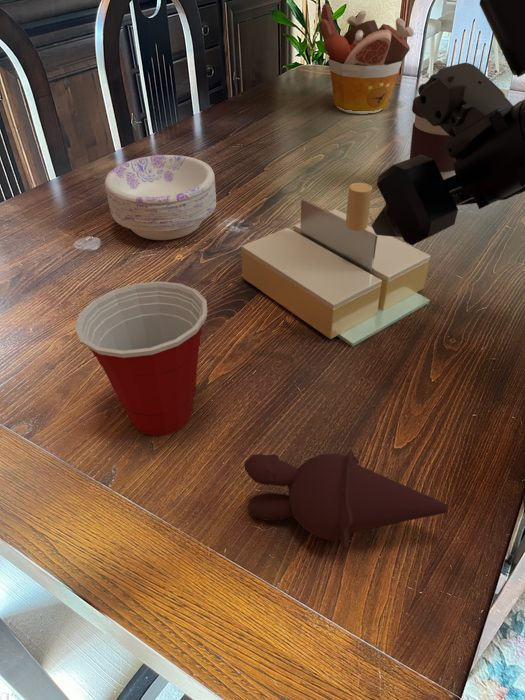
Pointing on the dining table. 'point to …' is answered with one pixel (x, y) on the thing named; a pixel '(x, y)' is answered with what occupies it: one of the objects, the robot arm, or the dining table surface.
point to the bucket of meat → (363, 60)
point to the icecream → (335, 496)
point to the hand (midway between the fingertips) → (406, 215)
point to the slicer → (343, 228)
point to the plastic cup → (148, 349)
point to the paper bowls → (161, 195)
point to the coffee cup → (431, 143)
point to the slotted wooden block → (337, 282)
